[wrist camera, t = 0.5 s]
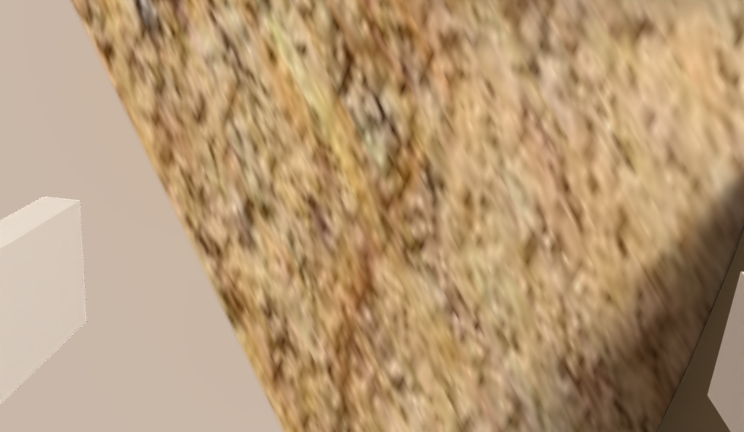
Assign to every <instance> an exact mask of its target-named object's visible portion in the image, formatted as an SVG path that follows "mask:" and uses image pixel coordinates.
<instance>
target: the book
mask: <svg viewBox="0 0 744 432" xmlns="http://www.w3.org/2000/svg"><path fill="white" fill-rule="evenodd" d="M740 272H744V227H743V230H742V234H741V237H740V240H739V244H738V247H737V250H736V253H735V256H734V258H733V261H732V263H731V265H730V268H729V270H728V273H727V275H726V277H725V280H724V282H723V285H722V287H721V289H720V292H719V294H718V297H717V299H716V301H715V304H714V306H713V309H712V311H711V313H710V316H709V318H708V321H707V323H706V325H705V328H704V330H703V333H702V335H701V337H700V340H699V342H698V345H697V347H696V349H695V352H694V354H693V357H692V359H691V361H690V363H689V366H688V368H687V370H686V372H685V374H684V376H683V378H682V380H681V382H680V384H679V386H678V388H677V391H676V393H675V395H674V397H673V399H672V401H671V403H670V405H669V407H668V409H667V411H666V414H665V416H664V418H663V420H662V422H661V424H660V426H659V428H658V430H657V432H731V431H730V430H729V428H728V427H727V425H726V424H725V422H724V420H723V419H722V417H721V416H720V414H719V413H718V411H717V409H716V408H715V406H714V405H713V403H712V402H711V400H710V399H709V397H708V395H707V394H708V391H709V387H710V383H711V380H712V376H713V372H714V369H715V365H716V361H717V357H718V354H719V350H720V346H721V343H722V339H723V335H724V331H725V328H726V324H727V320H728V317H729V313H730V309H731V306H732V302H733V298H734V294H735V291H736V287H737V283H738V280H739V276H740Z"/></svg>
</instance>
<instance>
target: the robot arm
mask: <svg viewBox="0 0 744 432" xmlns="http://www.w3.org/2000/svg"><path fill="white" fill-rule="evenodd" d="M80 209H81V208H80V200H73V199H64V198H53V197H45V196H44V197H42V198H40V199H38V200H37V201H34V202H33V203H31V204H29V205H28V206H25V207H23V208H22V209H20V210H18V211H16V212H15V213H13V214H11V215H9V216H7V217H5V218H4V219H2V220H0V405H1V404H2V403H3V402H4V401H5V400H6V399H7V398H8V397H9V396H10V395H11V394H12V393H13V392H14V391H15V390H16V389H17V388H18V387H19V386H20V385H21V384H22V383H23V382H25V381H26V380H27V379H28V378H29V377H30V376H31V375H32V374H33V373H34V372H35V371H36V370H37V369H38V368H39V367H40V366H41V365H42V364H43V363H44V362H45V361H46V360H47V359H48V358H49V357H50V356H51V355H53V354H54V353H55V352H56V351H57V350H58V349H59V348H60V347H61V346H62V345H63V344H64V343H65V342H66V341H67V340H68V339H69V338H70V337H71V336H72V335H73V334H74V333H75V332H76V331H77V330H78V329H79V328H81V326H83V325H84V324H85V323H86V322H87V318H86V298H85V280H84V262H83V244H82V227H81V210H80ZM707 395H708V397H709V399H710V400H711V402H712V403H713V405H714V406H715V408H716V409H717V411H718V413H719V414H720V416H721V417H722V419H723V420H724V422H725V424H726V425H727V427H728V428H729V430H730V431H731V432H744V272H740V276H739V280H738V283H737V287H736V291H735V294H734V298H733V302H732V306H731V309H730V313H729V317H728V320H727V324H726V328H725V331H724V335H723V339H722V343H721V346H720V350H719V354H718V357H717V361H716V365H715V369H714V372H713V376H712V380H711V383H710V387H709V391H708V394H707Z"/></svg>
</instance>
